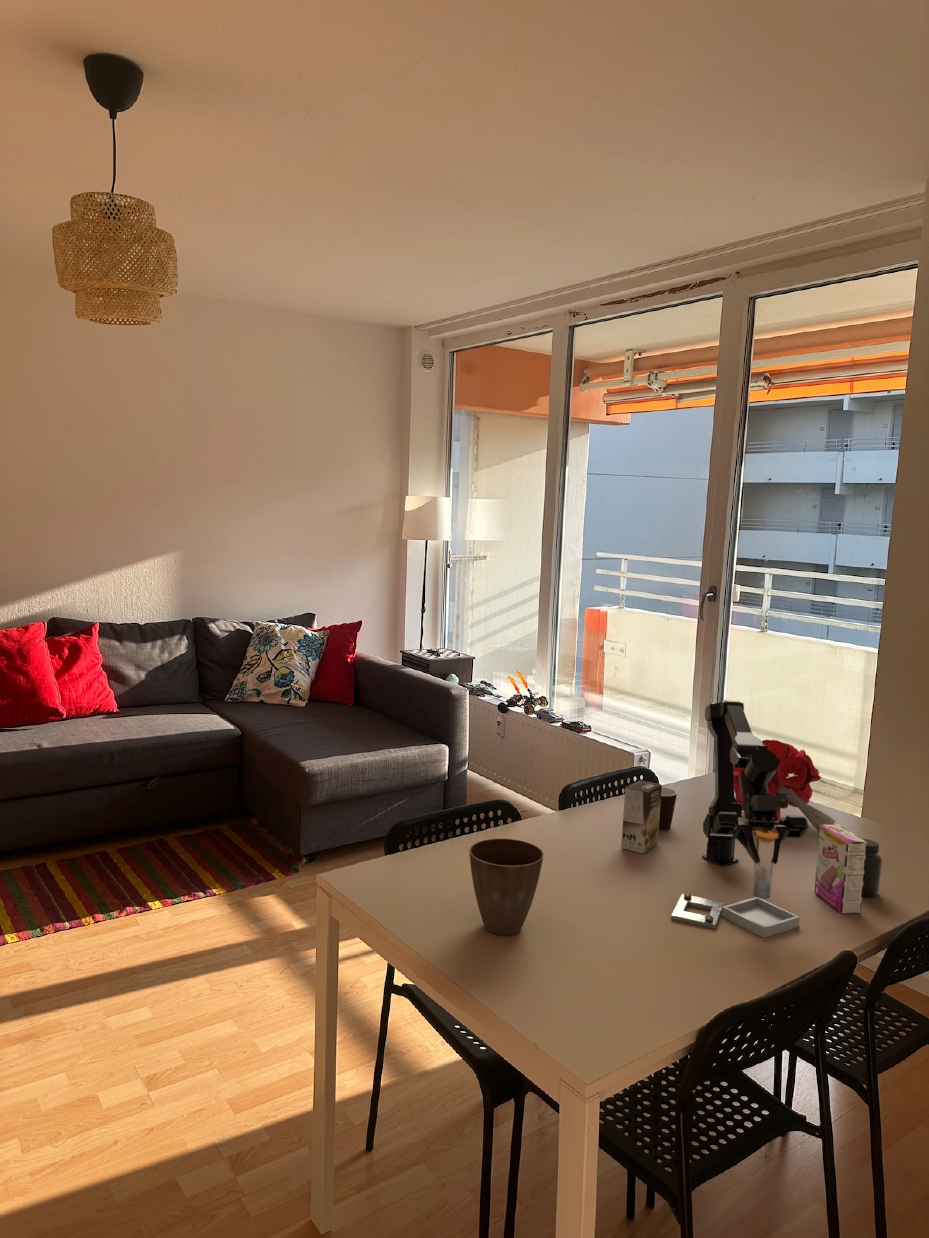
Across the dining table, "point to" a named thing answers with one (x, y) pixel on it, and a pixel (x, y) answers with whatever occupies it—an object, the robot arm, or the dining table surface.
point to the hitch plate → (697, 919)
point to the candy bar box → (840, 868)
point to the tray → (760, 917)
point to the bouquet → (791, 781)
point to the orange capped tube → (764, 861)
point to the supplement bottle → (872, 870)
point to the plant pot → (505, 882)
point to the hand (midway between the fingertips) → (766, 862)
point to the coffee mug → (667, 808)
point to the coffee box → (641, 816)
